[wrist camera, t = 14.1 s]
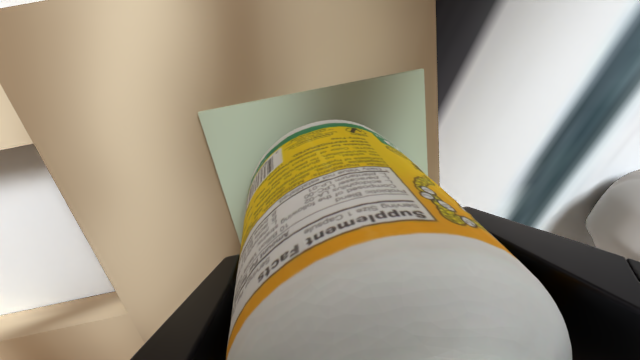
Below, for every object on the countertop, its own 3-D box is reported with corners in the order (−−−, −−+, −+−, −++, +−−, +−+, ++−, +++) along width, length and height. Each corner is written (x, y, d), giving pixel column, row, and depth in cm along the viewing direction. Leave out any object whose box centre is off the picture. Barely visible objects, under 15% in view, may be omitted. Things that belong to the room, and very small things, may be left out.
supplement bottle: (224, 144, 10) (-56, 809, 1) (392, 95, 10) (1077, 449, 2) (278, 277, 12) (294, 847, 4) (415, 236, 13) (745, 701, 4)
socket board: (411, -55, 10) (437, -72, 9) (427, 286, 16) (444, 314, 15) (-325, 77, 10) (-448, 86, 8) (-33, 386, 15) (-69, 428, 14)
